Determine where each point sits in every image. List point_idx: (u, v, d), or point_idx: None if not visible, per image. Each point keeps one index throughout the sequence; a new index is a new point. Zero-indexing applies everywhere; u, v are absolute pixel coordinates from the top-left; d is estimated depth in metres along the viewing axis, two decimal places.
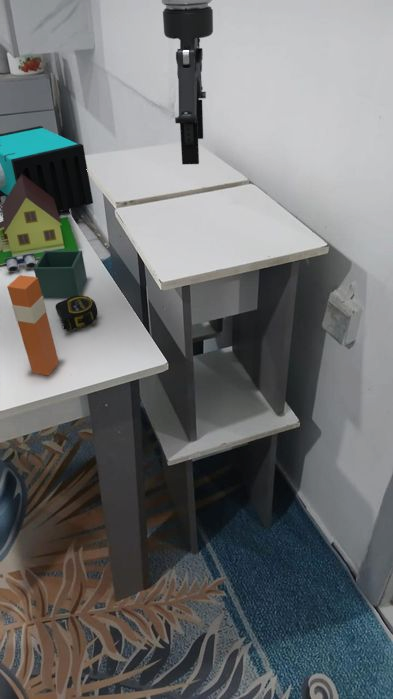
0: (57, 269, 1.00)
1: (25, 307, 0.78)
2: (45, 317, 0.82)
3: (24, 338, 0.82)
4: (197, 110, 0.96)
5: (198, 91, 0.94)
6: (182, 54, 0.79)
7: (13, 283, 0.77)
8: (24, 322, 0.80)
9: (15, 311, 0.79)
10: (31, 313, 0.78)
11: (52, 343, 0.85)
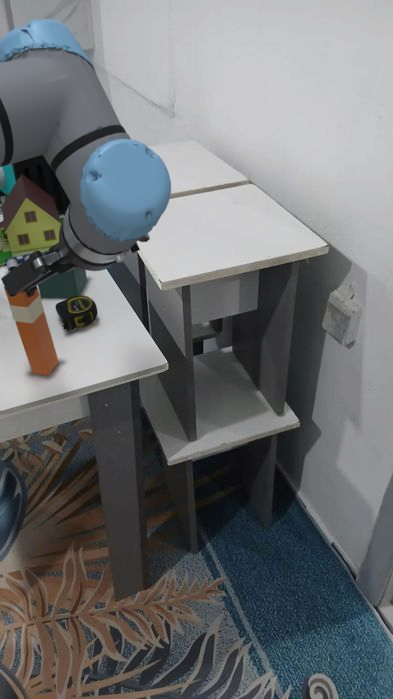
0: None
1: (22, 307, 0.78)
2: (43, 317, 0.82)
3: (23, 338, 0.82)
4: None
5: None
6: (33, 260, 0.61)
7: None
8: (22, 322, 0.80)
9: (12, 311, 0.79)
10: (29, 313, 0.78)
11: (51, 343, 0.85)
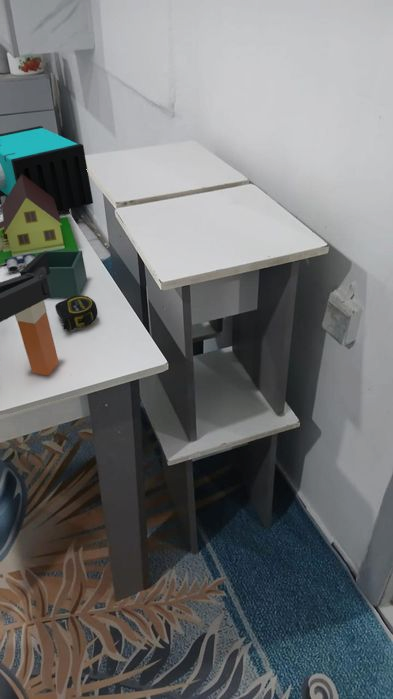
0: (57, 269, 1.00)
1: None
2: (45, 317, 0.82)
3: (24, 338, 0.82)
4: None
5: None
6: None
7: None
8: (24, 322, 0.80)
9: None
10: (31, 313, 0.78)
11: (52, 343, 0.85)
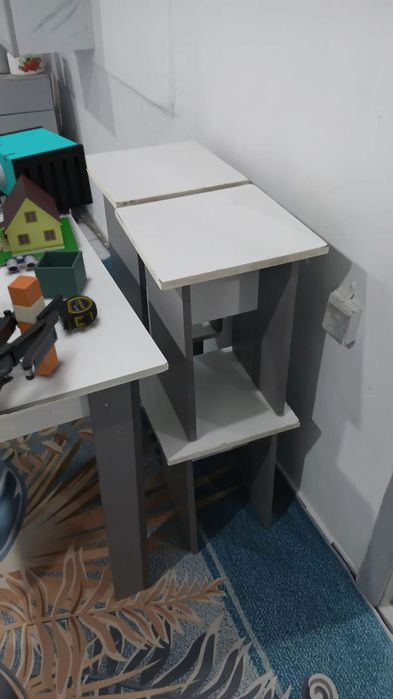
0: (57, 269, 1.00)
1: (25, 307, 0.78)
2: None
3: None
4: None
5: None
6: None
7: (13, 283, 0.77)
8: (24, 322, 0.80)
9: (15, 311, 0.79)
10: (31, 313, 0.78)
11: None
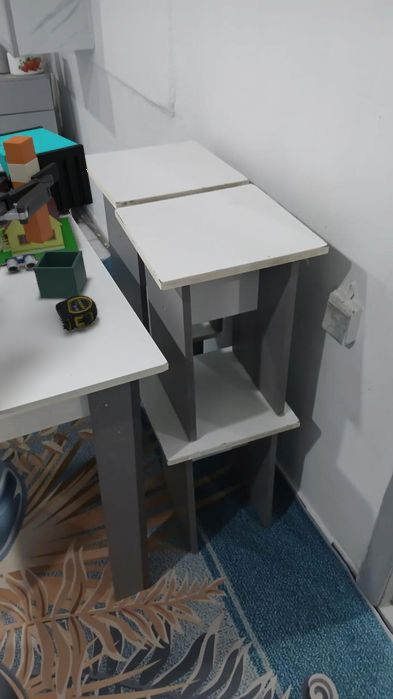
0: (57, 269, 1.00)
1: (20, 164, 0.80)
2: None
3: None
4: None
5: None
6: None
7: (8, 140, 0.80)
8: (19, 182, 0.82)
9: (10, 170, 0.81)
10: (26, 171, 0.81)
11: (46, 211, 0.88)
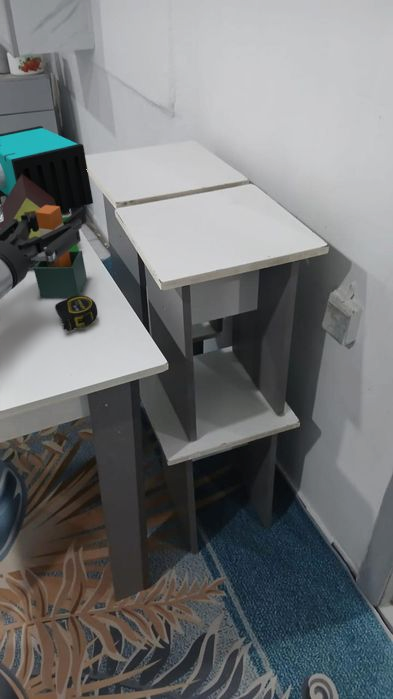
0: (57, 269, 1.00)
1: (49, 229, 0.97)
2: None
3: None
4: None
5: None
6: None
7: (40, 210, 0.97)
8: None
9: (41, 234, 0.98)
10: None
11: (70, 265, 1.04)
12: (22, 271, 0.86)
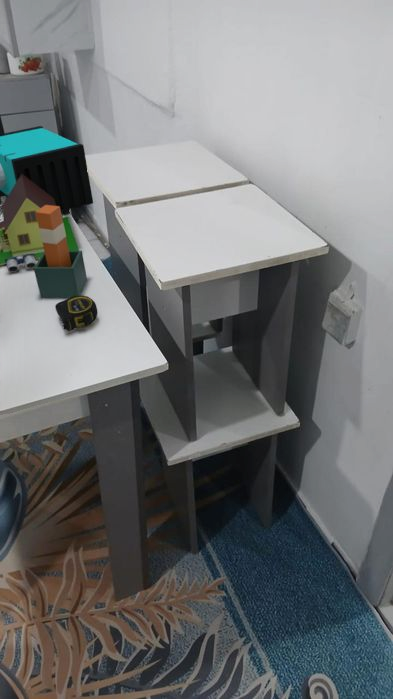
0: (57, 269, 1.00)
1: (49, 229, 0.97)
2: (65, 241, 1.01)
3: (47, 258, 1.01)
4: None
5: None
6: None
7: (40, 210, 0.97)
8: (48, 243, 0.99)
9: (41, 234, 0.98)
10: (54, 235, 0.98)
11: (70, 265, 1.04)
12: None
